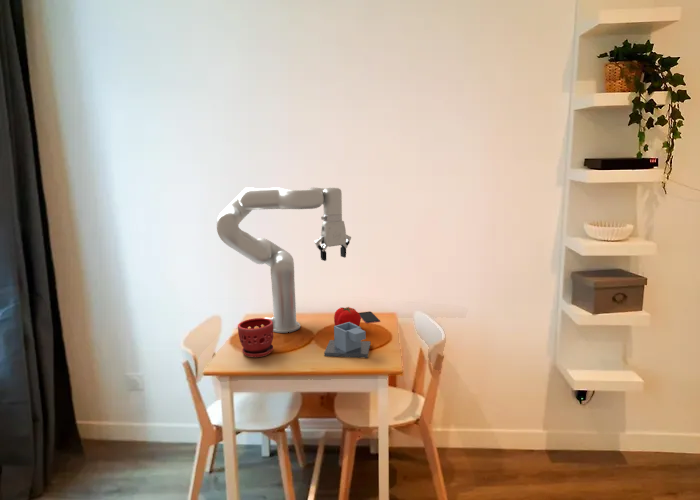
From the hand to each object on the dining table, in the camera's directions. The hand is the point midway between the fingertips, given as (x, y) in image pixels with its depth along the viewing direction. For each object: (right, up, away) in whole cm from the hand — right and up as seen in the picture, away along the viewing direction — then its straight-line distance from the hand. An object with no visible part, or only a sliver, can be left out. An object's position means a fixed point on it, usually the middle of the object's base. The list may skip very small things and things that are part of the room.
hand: (333, 258), depth 214 cm
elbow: (+7, -33, -22) cm, 41 cm away
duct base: (+6, -35, -20) cm, 41 cm away
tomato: (+6, -30, -1) cm, 31 cm away
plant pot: (-28, -36, -21) cm, 50 cm away
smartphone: (+15, -27, +15) cm, 35 cm away
